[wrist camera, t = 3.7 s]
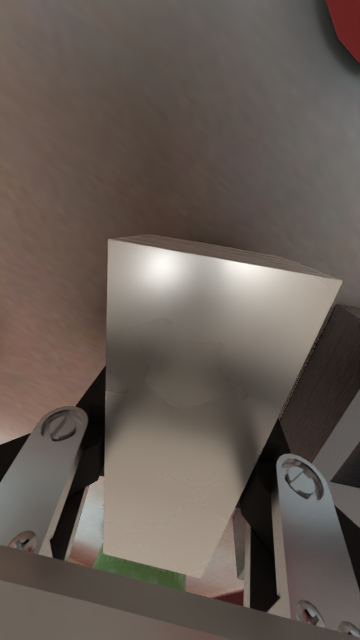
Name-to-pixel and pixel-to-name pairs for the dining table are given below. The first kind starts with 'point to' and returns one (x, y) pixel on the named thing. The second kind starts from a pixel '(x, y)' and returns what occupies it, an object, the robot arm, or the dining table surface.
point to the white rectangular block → (195, 386)
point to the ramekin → (140, 571)
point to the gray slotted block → (325, 418)
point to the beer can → (347, 23)
